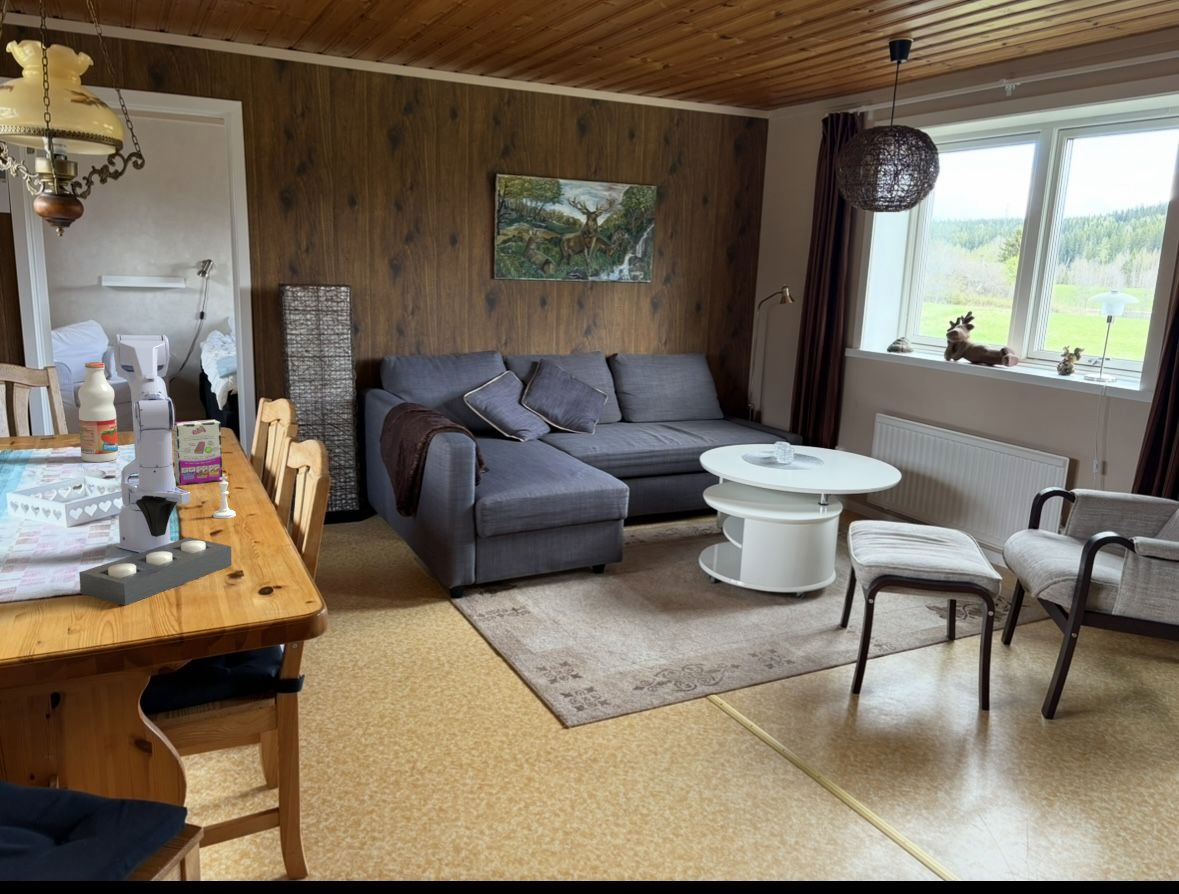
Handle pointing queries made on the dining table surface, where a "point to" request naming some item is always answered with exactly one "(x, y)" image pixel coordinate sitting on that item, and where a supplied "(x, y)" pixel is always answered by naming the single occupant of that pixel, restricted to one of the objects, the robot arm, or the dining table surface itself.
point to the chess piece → (224, 501)
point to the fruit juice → (97, 416)
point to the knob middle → (159, 557)
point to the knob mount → (154, 572)
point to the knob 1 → (121, 570)
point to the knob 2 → (193, 546)
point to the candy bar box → (197, 451)
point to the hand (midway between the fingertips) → (158, 535)
